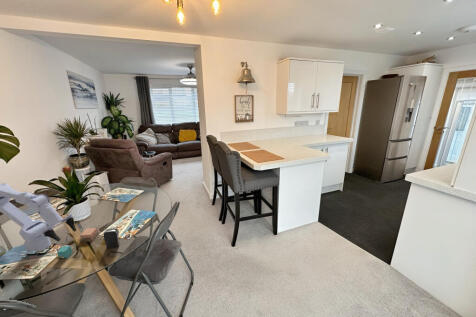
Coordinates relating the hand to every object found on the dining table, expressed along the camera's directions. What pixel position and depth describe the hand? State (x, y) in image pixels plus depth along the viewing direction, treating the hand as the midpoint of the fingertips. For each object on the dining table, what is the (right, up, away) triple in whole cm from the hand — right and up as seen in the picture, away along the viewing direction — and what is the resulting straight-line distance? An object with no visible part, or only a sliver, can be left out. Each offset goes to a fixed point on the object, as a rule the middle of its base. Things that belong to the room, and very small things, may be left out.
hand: (67, 235), depth 100 cm
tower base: (-1, -8, +16) cm, 18 cm away
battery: (+18, -11, +11) cm, 24 cm away
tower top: (-1, -6, +15) cm, 16 cm away
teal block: (-3, -12, +2) cm, 13 cm away
